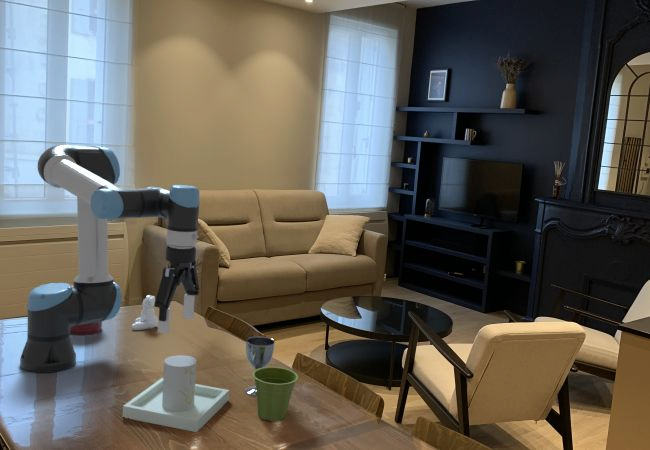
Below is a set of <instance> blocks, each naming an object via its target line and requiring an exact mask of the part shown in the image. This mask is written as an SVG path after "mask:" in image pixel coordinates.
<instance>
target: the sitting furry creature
mask: <svg viewBox="0 0 650 450" xmlns="http://www.w3.org/2000/svg"><path fill="white" fill-rule="evenodd" d="M155 300H156V296H155V295H151V294H148V295H146V297H145V298H143V300H142V303H141V305H142V306H143V307H142V310H141V313H140V316H139V317H138V318H135V321H134V323H133V324H131V330H132V331H141V330H143V331H144V330H150V329H154V328H155V327H158V321H159V318H158V316H156V314H155V309H154V307H153V306H154V304H155Z"/></svg>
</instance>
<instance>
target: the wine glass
mask: <svg viewBox="0 0 650 450" xmlns="http://www.w3.org/2000/svg"><path fill="white" fill-rule="evenodd" d="M275 343H276V342H275V340H274V339H273V338H271V337H267V336H260V335H259V336H256V335H255V336H249V337H248V338H247V339H246V342H245V352H246V359H247V362H248V363H249V364H250V366H251V367H252V368H253V369H254V371H255V370H257V369H259V368H264V367H267V366H268V365H269V364H270V363H271V361H272V359H273V356H274V351H275ZM243 391H244V393H245V394H246V395H247V396H251V397H254V398H255V397H256V398H257V392H256V385H252V386H249V387H246V388H245V389H244V390H243Z"/></svg>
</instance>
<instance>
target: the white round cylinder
mask: <svg viewBox="0 0 650 450" xmlns="http://www.w3.org/2000/svg"><path fill="white" fill-rule="evenodd" d="M197 361H198V360H197V359H196V358H195V357H193V356H190V355H179V354H178V355H171V356H168V357H166V358H165V359H164V361H163V362H164V364H163V377H162V378H163V397H162V407H163V408H164V409H166V410H168V411H173V412H181V411H187V410H189V409H191V408H193V406H194V397H195V384H196V378H197V377H196V375H197Z"/></svg>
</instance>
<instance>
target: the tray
mask: <svg viewBox="0 0 650 450" xmlns="http://www.w3.org/2000/svg"><path fill="white" fill-rule="evenodd" d="M163 378H164V377H161V378H160V379H158V380H157V381H155V382H154V383H153V384H151V385H150V386H148V387H147V388H146V389H144V390H143V391H141V393H139V394H138V395H136V396H135V397H133V398H132V399H131V400H129V401H128V402H126V403H125V404H123V405H122V418H123V417H125V418H124V419H128V418H129V420H134V421H137V422H144V423H149V424H154V425H159V426H164V427H169V428H174V429H178V430H184V431H189V432H193V433H198V432H199V431H200V430H201V428H202V427H204V425H206V423H208V421H210V419H212V417H213V416H215V414H217V413H218V411H220V409H222V407H224V405H226V404H227V403H228V402H229V396H230V395H229V394H230V390H229V389H226V388H221V387H220V388H219V387H214V386H208V385H204V384H200V383H199V384H198V383H195V397H194V406H193V408H191V409H189V410H187V411H181V412H173V411H168V410H166V409H164V408H163V407H162V397H163Z"/></svg>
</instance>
